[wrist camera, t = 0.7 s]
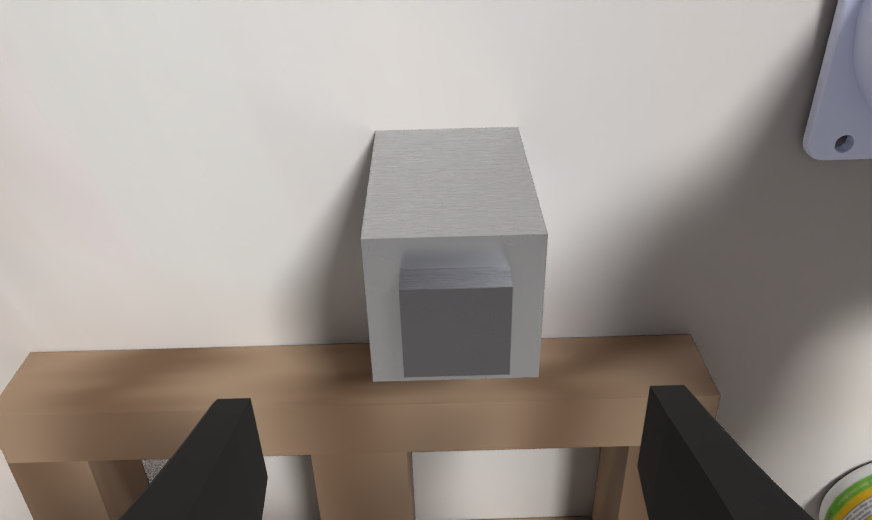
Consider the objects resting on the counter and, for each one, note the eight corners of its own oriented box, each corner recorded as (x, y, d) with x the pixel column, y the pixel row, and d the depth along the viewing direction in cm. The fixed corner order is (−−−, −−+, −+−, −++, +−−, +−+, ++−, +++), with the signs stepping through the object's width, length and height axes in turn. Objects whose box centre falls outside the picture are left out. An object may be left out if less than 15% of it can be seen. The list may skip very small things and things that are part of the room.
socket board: (690, 334, 25) (725, 405, 22) (648, 547, 31) (671, 625, 28) (30, 352, 25) (-21, 425, 22) (113, 561, 31) (81, 641, 28)
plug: (517, 126, 21) (553, 253, 15) (513, 248, 23) (543, 400, 18) (375, 130, 21) (357, 259, 15) (383, 251, 23) (371, 404, 18)
